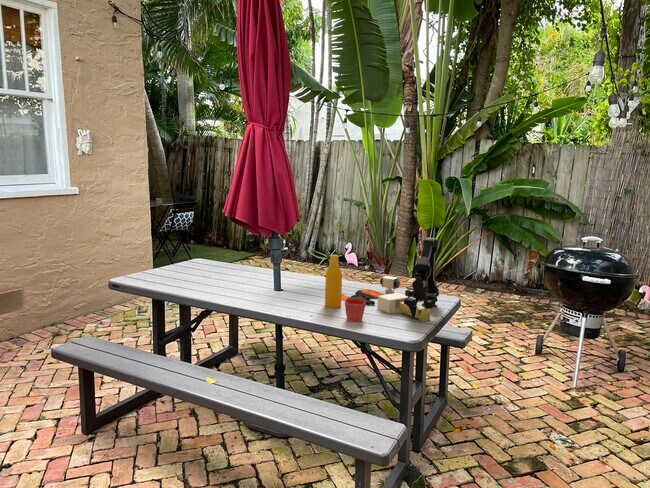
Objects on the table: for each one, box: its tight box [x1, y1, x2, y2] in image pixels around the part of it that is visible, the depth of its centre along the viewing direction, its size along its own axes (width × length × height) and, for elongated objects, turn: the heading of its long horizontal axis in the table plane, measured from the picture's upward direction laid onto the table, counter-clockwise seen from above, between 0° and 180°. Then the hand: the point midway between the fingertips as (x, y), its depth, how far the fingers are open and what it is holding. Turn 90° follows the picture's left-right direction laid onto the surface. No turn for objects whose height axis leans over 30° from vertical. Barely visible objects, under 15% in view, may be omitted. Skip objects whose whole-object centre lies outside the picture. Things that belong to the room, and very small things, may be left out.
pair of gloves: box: [341, 289, 386, 306], centre depth 279 cm, size 27×24×3 cm
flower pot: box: [344, 299, 367, 323], centre depth 238 cm, size 11×11×10 cm
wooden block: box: [398, 302, 432, 323], centre depth 244 cm, size 6×17×6 cm, turn 32°
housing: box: [377, 292, 408, 314], centre depth 258 cm, size 14×10×7 cm
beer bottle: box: [324, 254, 343, 309], centre depth 260 cm, size 9×9×29 cm
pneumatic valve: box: [379, 275, 401, 295], centre depth 289 cm, size 6×12×12 cm, turn 51°
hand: (419, 316), depth 241 cm, fingers open, 9 cm apart
